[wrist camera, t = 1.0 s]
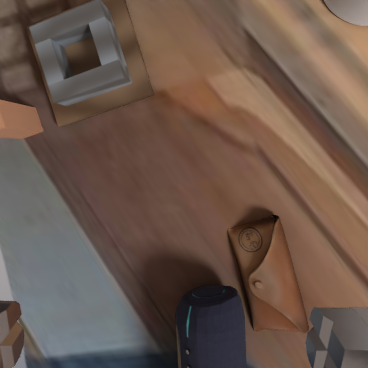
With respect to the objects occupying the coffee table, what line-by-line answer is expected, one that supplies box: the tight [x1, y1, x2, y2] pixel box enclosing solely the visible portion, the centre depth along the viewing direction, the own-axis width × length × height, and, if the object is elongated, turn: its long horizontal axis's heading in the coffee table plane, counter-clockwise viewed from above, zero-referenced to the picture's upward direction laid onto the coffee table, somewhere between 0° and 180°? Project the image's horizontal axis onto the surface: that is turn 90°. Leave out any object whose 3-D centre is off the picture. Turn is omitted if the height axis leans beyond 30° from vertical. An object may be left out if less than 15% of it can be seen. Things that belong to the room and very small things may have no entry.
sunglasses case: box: [228, 215, 309, 333], centre depth 48 cm, size 18×7×7 cm
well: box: [26, 0, 154, 127], centre depth 47 cm, size 16×16×5 cm
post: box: [0, 100, 43, 139], centre depth 48 cm, size 4×4×9 cm
